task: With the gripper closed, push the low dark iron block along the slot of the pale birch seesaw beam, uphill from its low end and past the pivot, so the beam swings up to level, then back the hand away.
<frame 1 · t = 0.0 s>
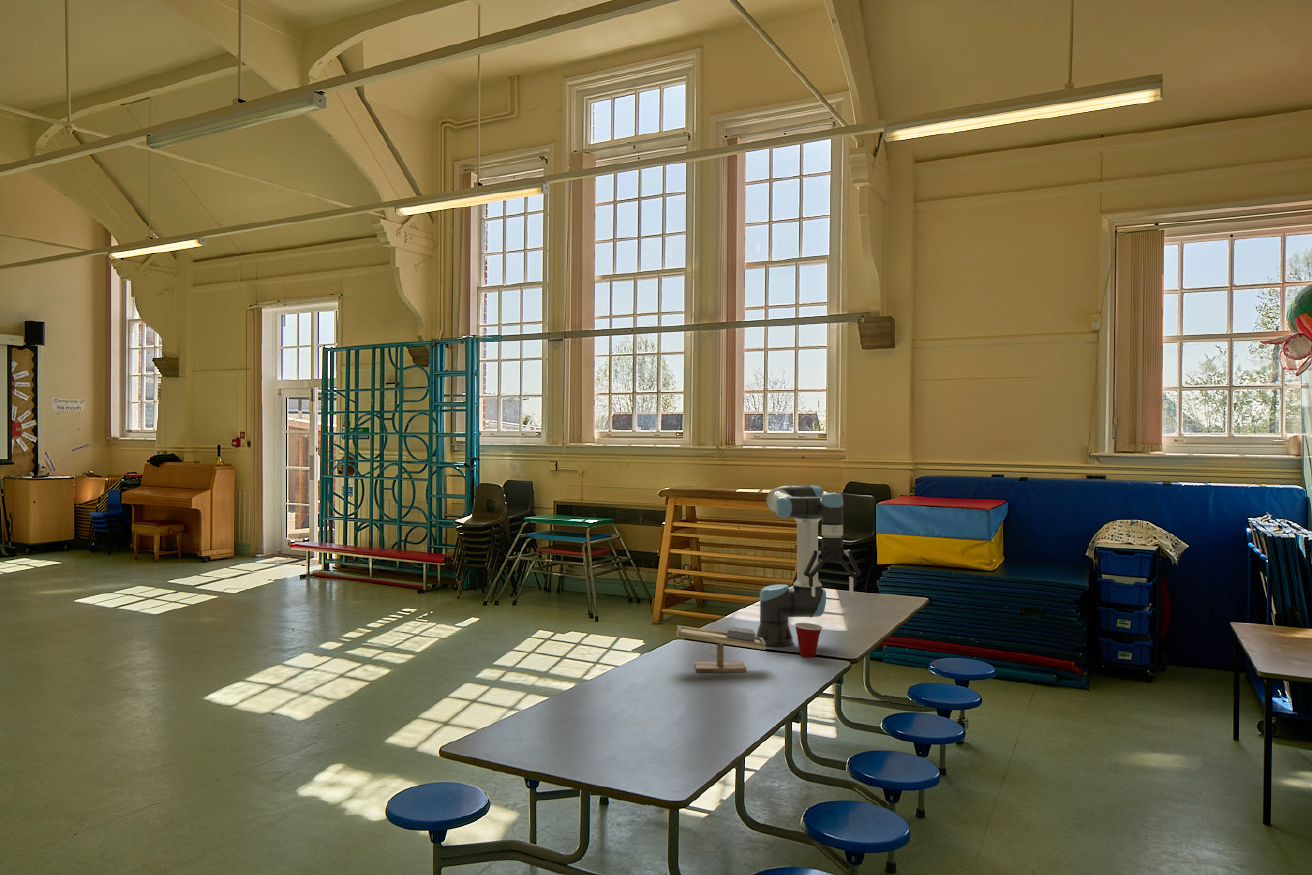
hand: (832, 595, 313), 28 cm above the table, tool pointing down, fingers open, 13 cm apart
seesaw beam: (720, 638, 321), point 11 cm above the table, hinge at -8.5°, touching iron block
iron block: (739, 639, 322), point 11 cm above the table, tilted 8°, touching seesaw beam
seesaw stand: (720, 668, 321), on the table
plastic cup: (808, 656, 340), on the table
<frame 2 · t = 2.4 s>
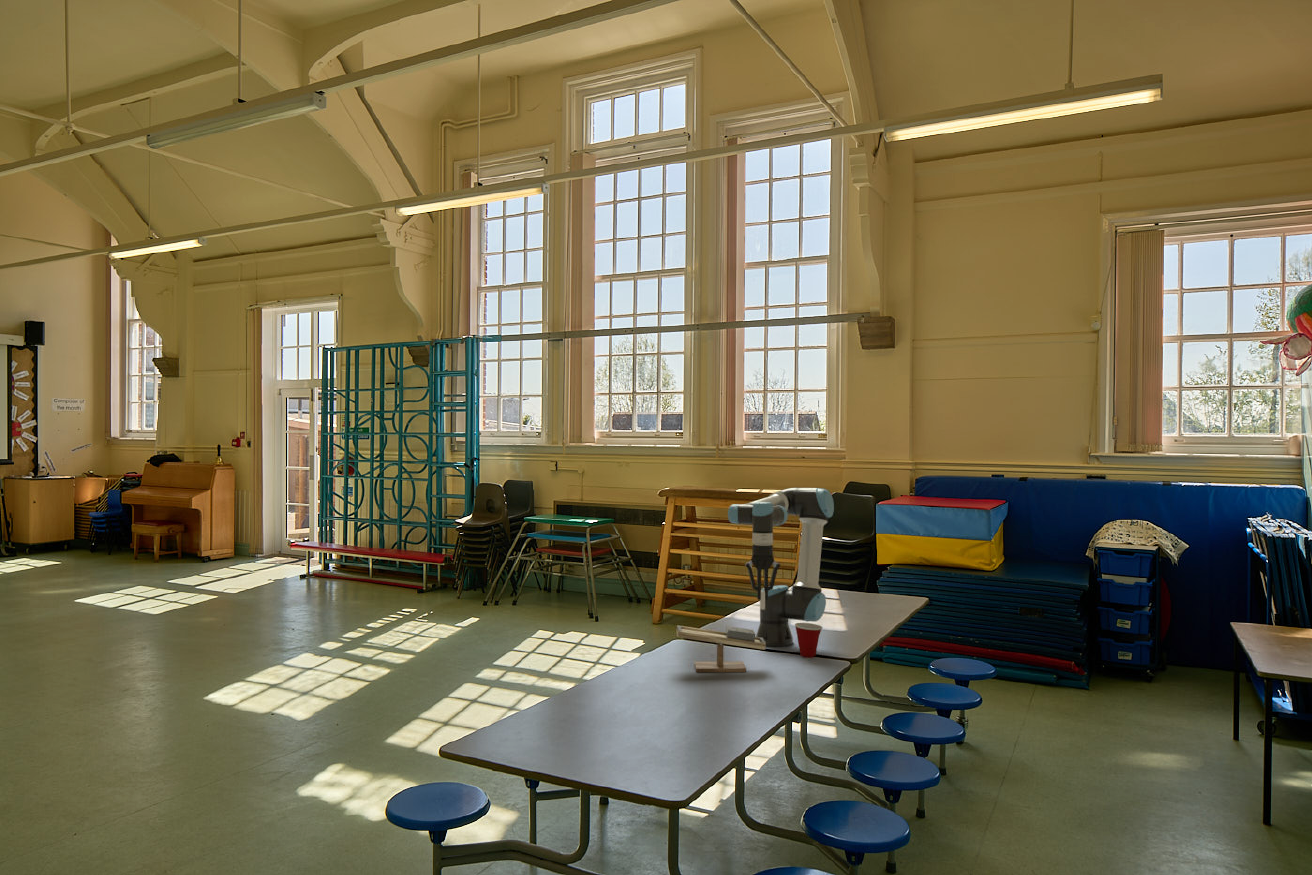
hand: (762, 608, 321), 22 cm above the table, tool pointing down, fingers closed
nothing on the table moved.
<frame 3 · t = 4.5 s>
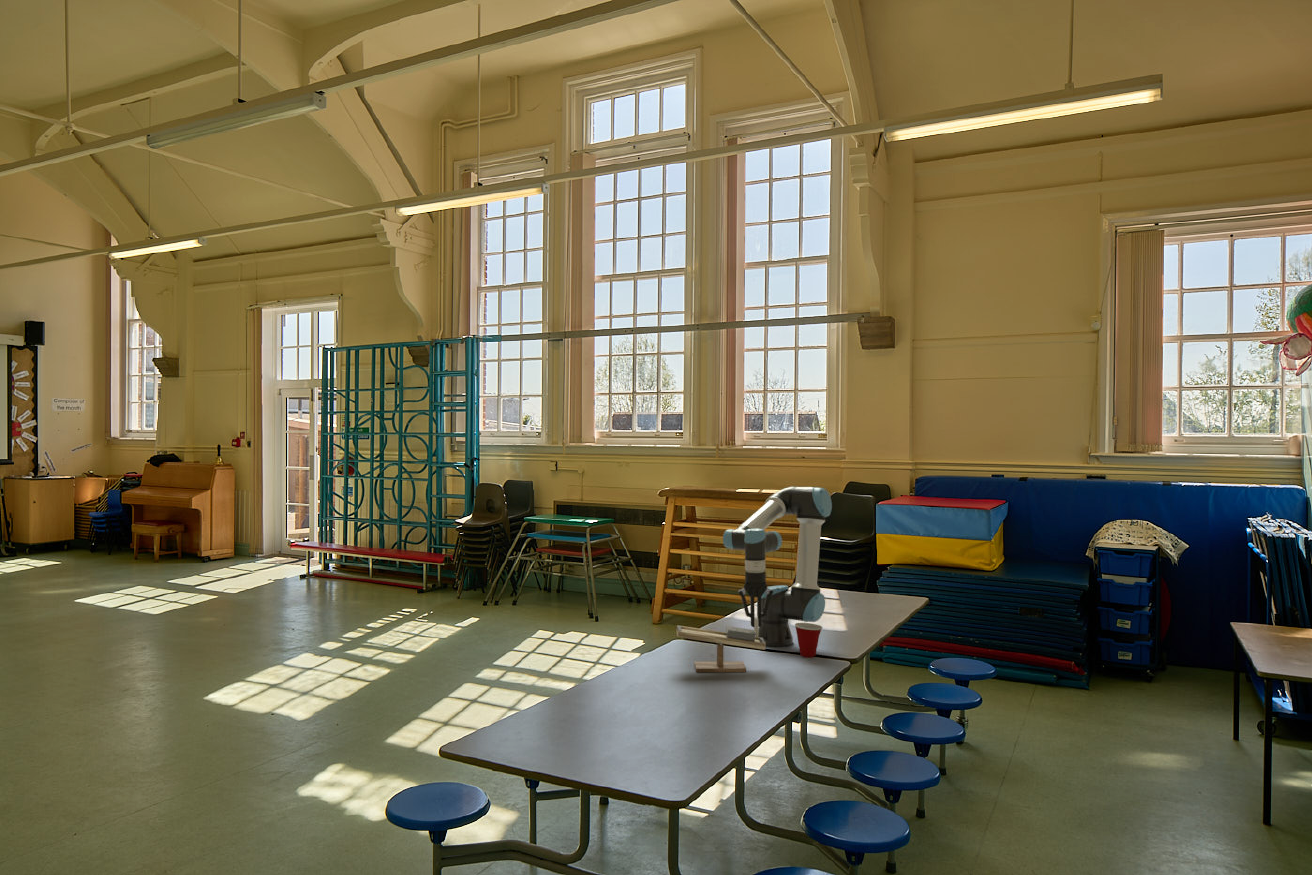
hand: (756, 635, 322), 12 cm above the table, tool pointing down, fingers closed
iron block: (739, 639, 322), point 11 cm above the table, tilted 8°, touching gripper, seesaw beam
everything else where it was.
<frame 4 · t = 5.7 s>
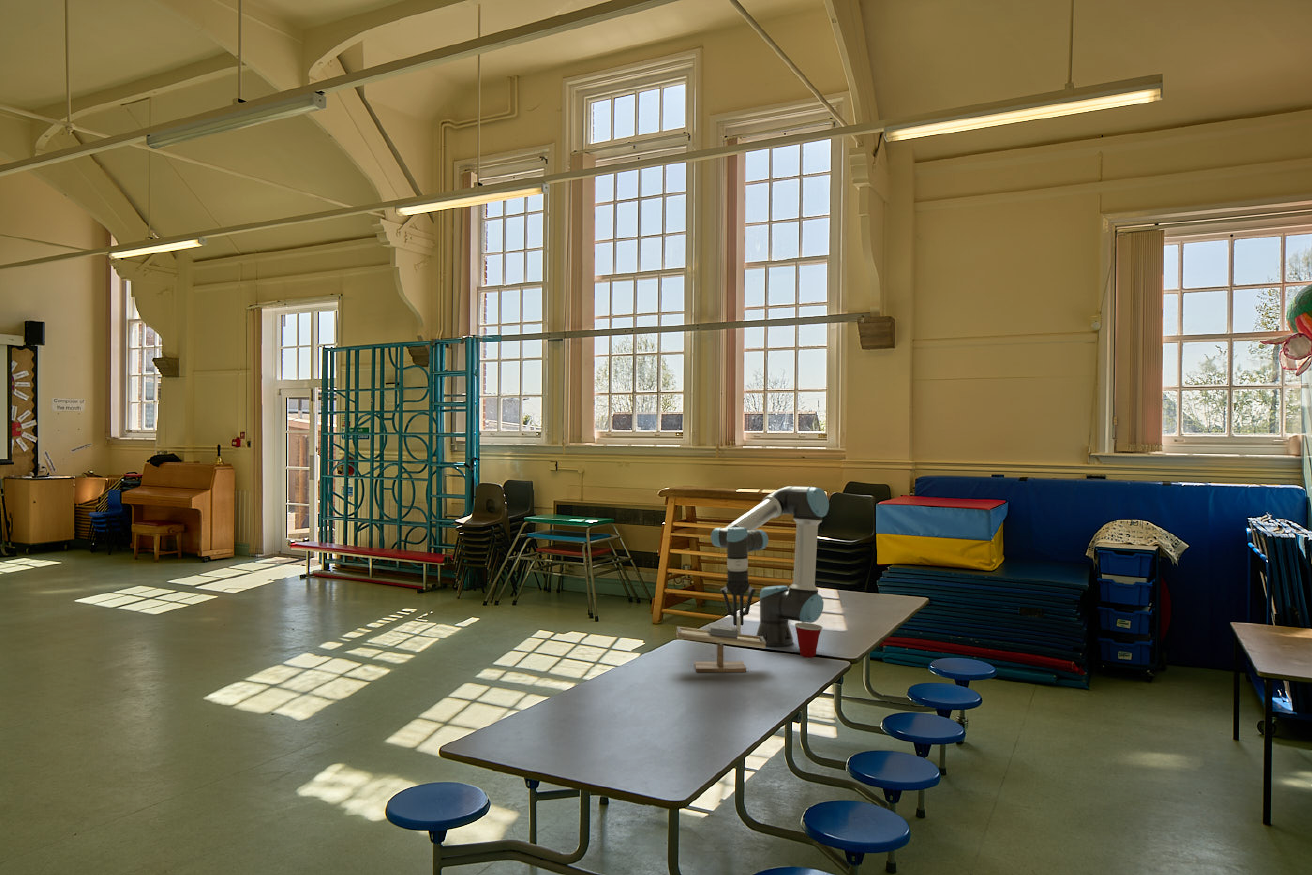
hand: (738, 634, 321), 13 cm above the table, tool pointing down, fingers closed
seesaw beam: (720, 638, 321), point 11 cm above the table, hinge at -6.9°, touching iron block
iron block: (722, 636, 321), point 12 cm above the table, tilted 7°, touching gripper, seesaw beam
everything else where it was.
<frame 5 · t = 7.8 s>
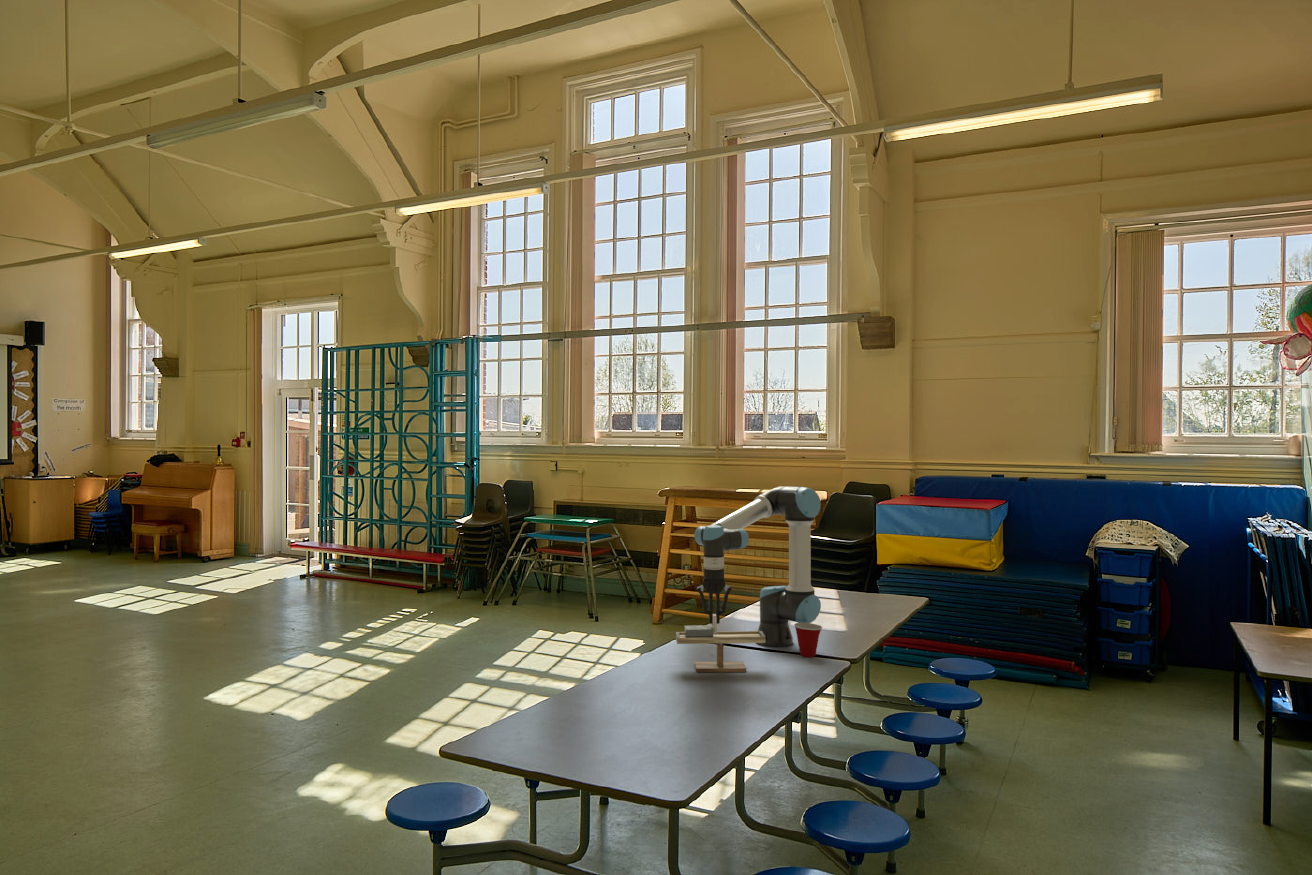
hand: (714, 632, 321), 13 cm above the table, tool pointing down, fingers closed
seesaw beam: (720, 638, 321), point 11 cm above the table, hinge at 0.5°, touching iron block
iron block: (698, 636, 321), point 12 cm above the table, touching gripper, seesaw beam
plastic cup: (808, 656, 340), on the table, touching arm
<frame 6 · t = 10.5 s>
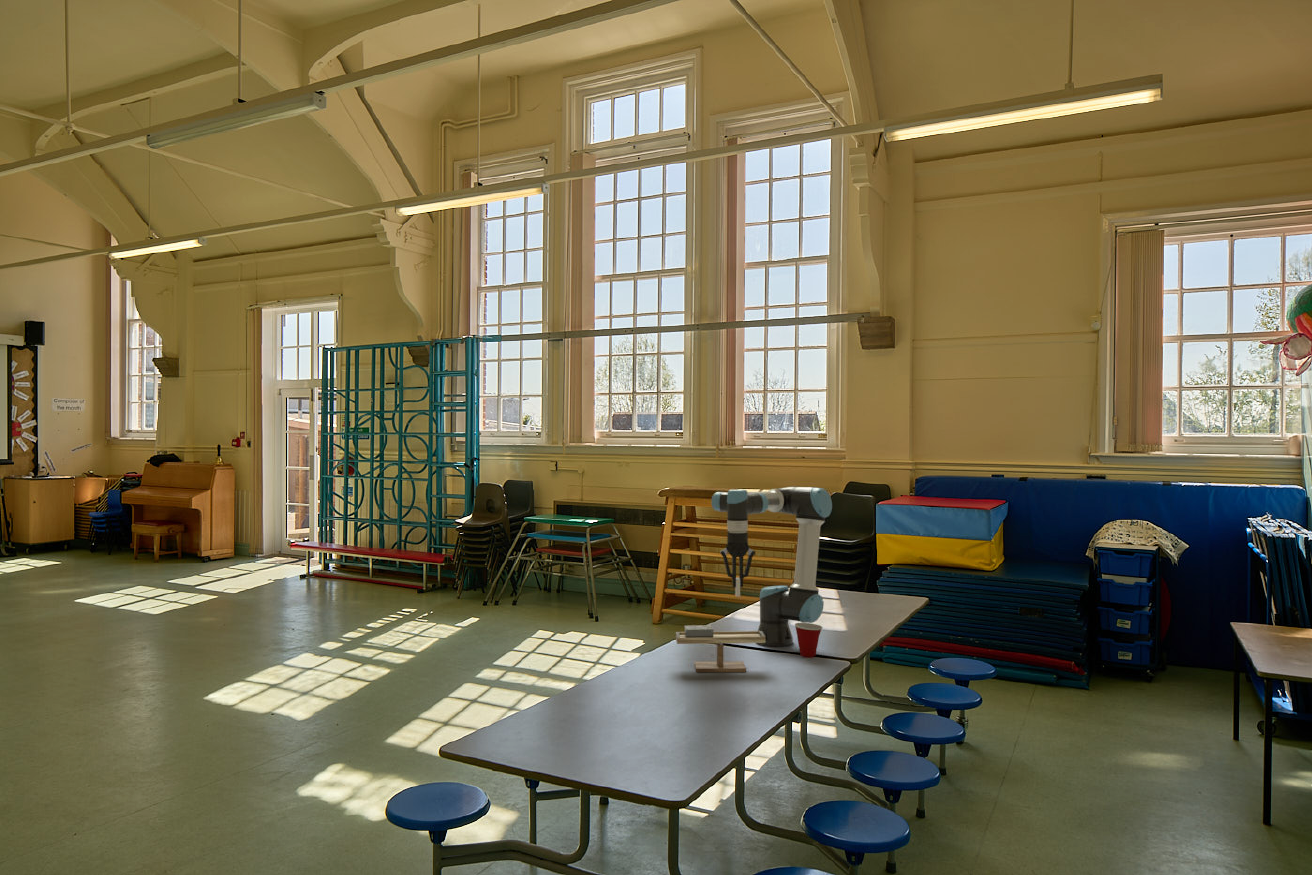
hand: (737, 595, 322), 26 cm above the table, tool pointing down, fingers closed
iron block: (698, 636, 321), point 12 cm above the table, touching seesaw beam
plastic cup: (808, 656, 340), on the table
everything else where it was.
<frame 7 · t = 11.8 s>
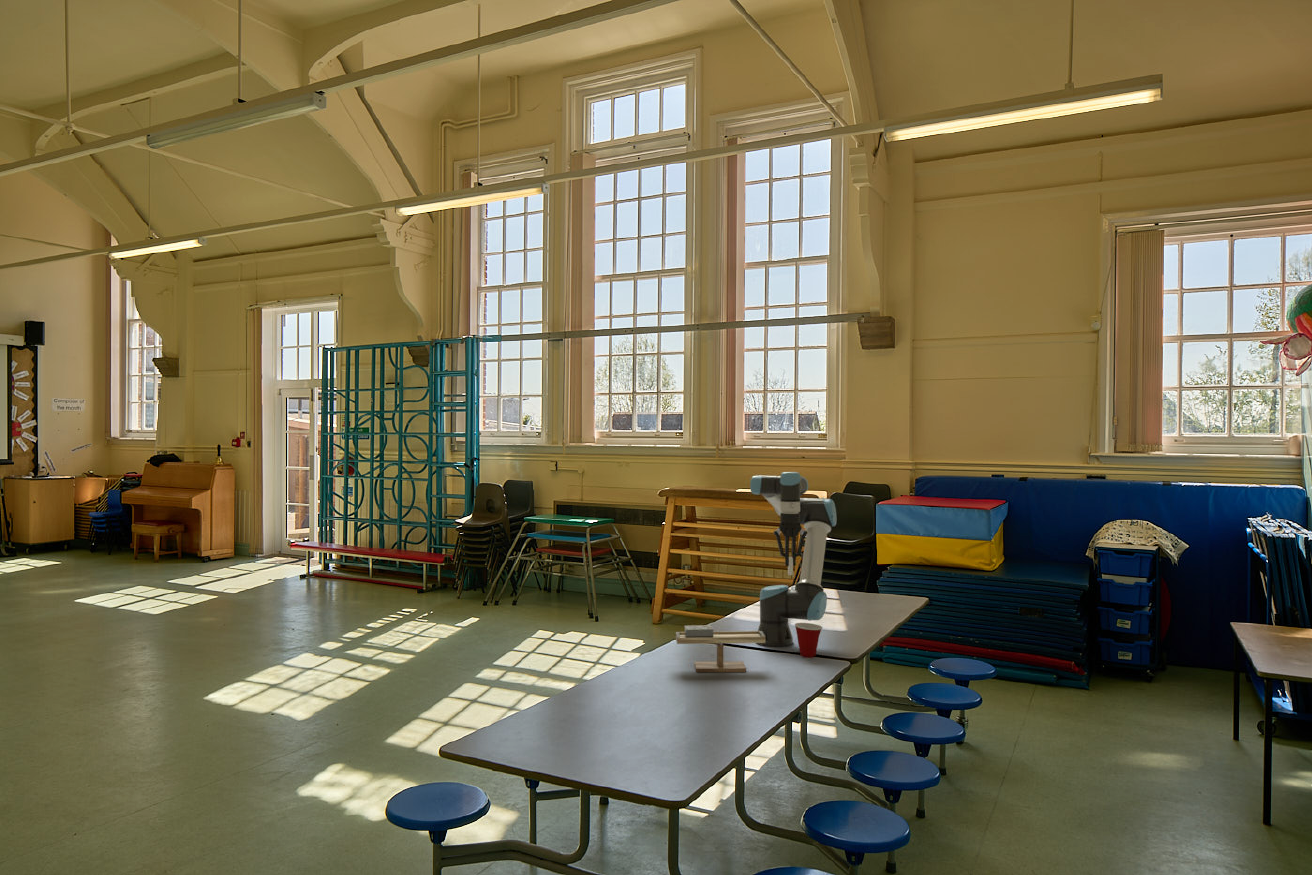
hand: (790, 574, 334), 32 cm above the table, tool pointing down, fingers closed
nothing on the table moved.
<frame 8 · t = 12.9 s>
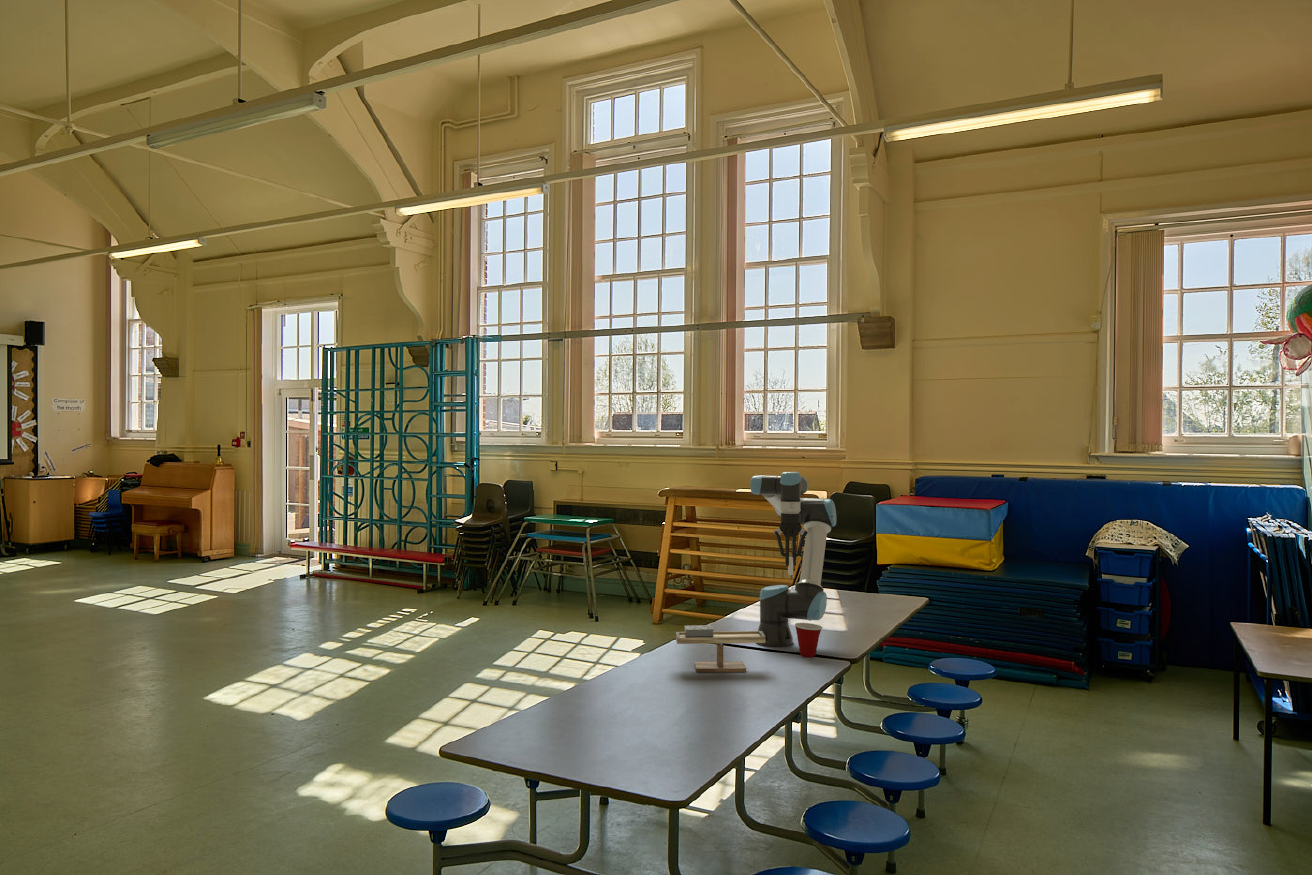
hand: (790, 574, 334), 32 cm above the table, tool pointing down, fingers closed
nothing on the table moved.
at the end: seesaw beam at +0° (first picture: -8°); iron block inside the target area on the seesaw beam (0.8 cm from its centre), point 1.5 cm above the seesaw beam's base; the gripper is holding nothing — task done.
